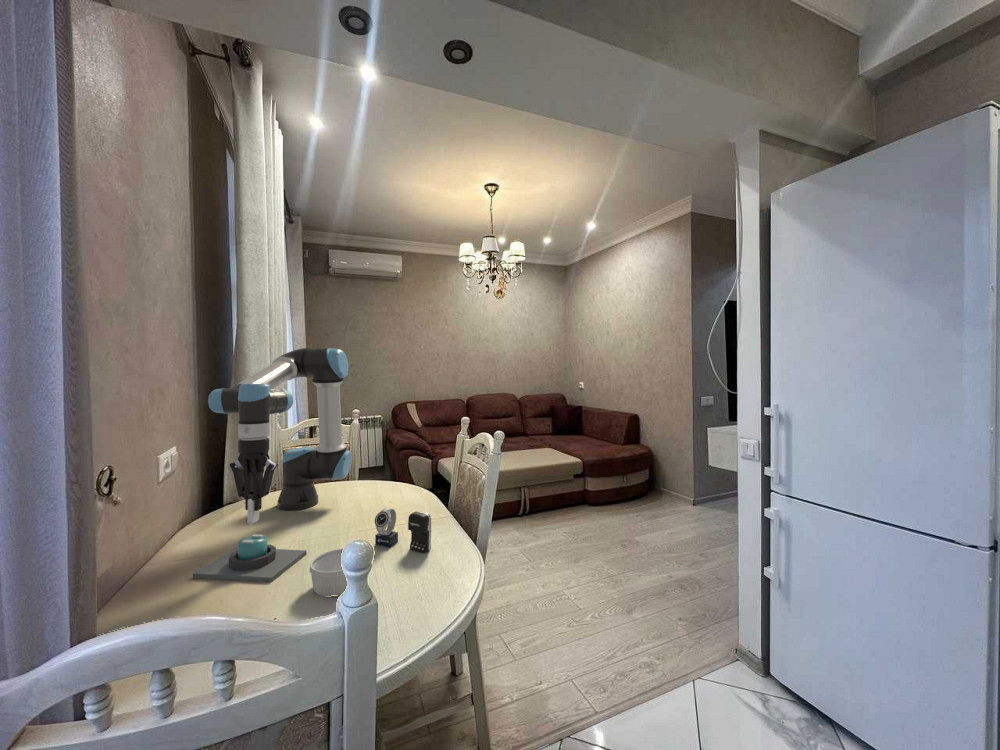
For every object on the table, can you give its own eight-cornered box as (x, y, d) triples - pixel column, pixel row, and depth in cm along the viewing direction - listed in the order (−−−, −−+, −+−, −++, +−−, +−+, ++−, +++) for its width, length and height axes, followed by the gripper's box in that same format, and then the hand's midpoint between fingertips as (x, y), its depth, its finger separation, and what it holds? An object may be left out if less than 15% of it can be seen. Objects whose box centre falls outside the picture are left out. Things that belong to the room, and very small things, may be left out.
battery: (406, 549, 123) (406, 513, 123) (414, 545, 126) (414, 509, 126) (423, 555, 119) (423, 517, 119) (431, 550, 123) (431, 513, 123)
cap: (250, 554, 116) (250, 532, 116) (272, 556, 115) (272, 533, 115) (231, 566, 109) (231, 542, 109) (255, 567, 108) (256, 543, 108)
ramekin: (308, 605, 93) (308, 576, 93) (310, 579, 105) (310, 552, 105) (367, 593, 98) (367, 565, 98) (363, 569, 110) (363, 544, 110)
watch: (371, 547, 124) (371, 512, 124) (386, 537, 132) (386, 504, 132) (386, 549, 123) (387, 514, 123) (401, 539, 130) (401, 506, 130)
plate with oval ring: (237, 551, 121) (237, 539, 121) (306, 554, 119) (306, 542, 119) (192, 577, 105) (192, 564, 105) (271, 582, 103) (271, 568, 103)
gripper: (222, 439, 109) (221, 525, 109) (267, 440, 108) (266, 527, 108) (241, 435, 116) (241, 516, 116) (284, 436, 115) (283, 517, 115)
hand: (253, 521), depth 112 cm, fingers closed
